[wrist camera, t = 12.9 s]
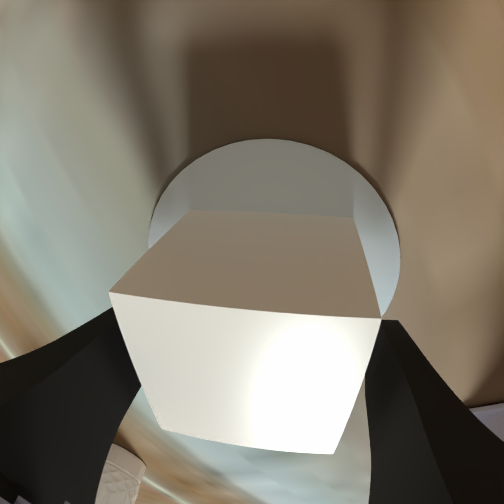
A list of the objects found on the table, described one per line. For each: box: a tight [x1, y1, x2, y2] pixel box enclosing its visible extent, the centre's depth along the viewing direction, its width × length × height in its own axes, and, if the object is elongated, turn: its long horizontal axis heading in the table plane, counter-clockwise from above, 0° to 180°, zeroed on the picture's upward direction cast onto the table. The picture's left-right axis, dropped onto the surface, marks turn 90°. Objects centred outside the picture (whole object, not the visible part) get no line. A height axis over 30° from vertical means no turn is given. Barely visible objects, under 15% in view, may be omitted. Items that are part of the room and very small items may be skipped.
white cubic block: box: [108, 210, 382, 454], centre depth 10 cm, size 6×6×6 cm
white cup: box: [95, 443, 146, 504], centre depth 22 cm, size 8×8×10 cm
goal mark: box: [148, 139, 400, 317], centre depth 12 cm, size 10×10×1 cm
